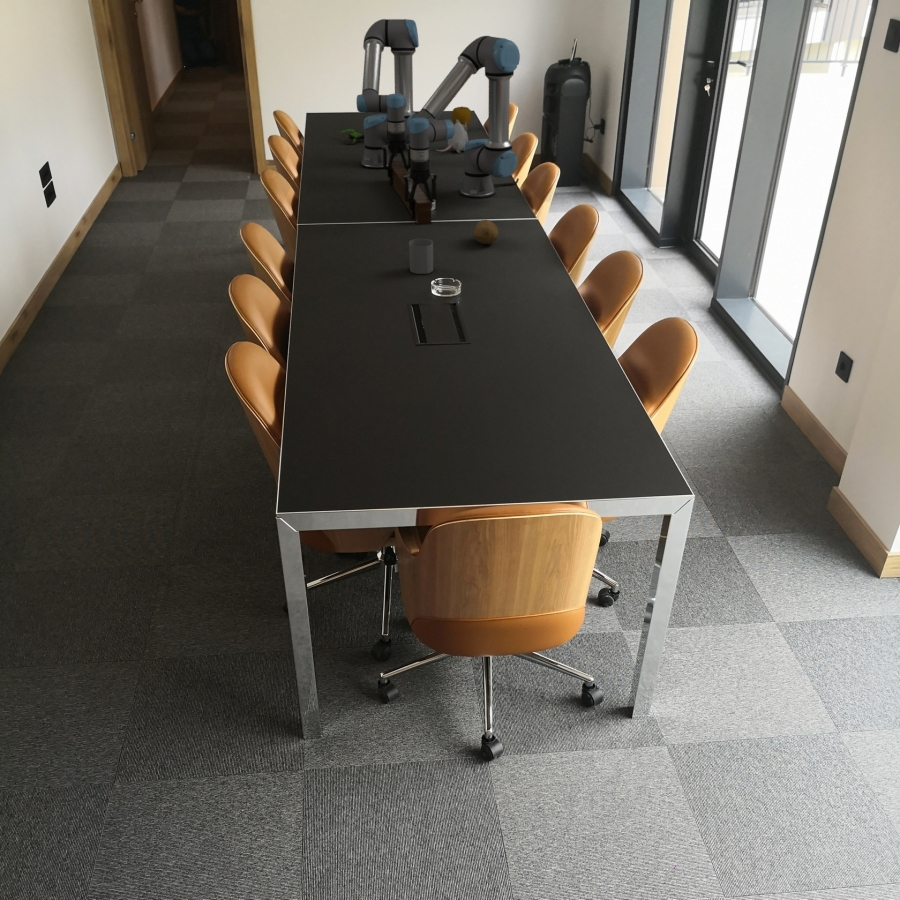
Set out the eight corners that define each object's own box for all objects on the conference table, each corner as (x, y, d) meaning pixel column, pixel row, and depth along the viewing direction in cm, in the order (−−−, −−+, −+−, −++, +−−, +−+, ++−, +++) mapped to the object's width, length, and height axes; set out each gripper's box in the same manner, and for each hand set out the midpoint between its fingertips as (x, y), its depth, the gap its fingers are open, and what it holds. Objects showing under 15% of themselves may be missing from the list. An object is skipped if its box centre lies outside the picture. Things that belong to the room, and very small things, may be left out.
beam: (389, 181, 404) (388, 162, 400) (400, 180, 405) (400, 161, 401) (417, 224, 351) (417, 203, 347) (431, 223, 352) (430, 202, 348)
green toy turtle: (394, 125, 469) (339, 123, 467) (394, 140, 462) (338, 138, 460) (394, 135, 474) (339, 133, 472) (394, 150, 467) (338, 148, 464)
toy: (473, 150, 452) (473, 120, 444) (442, 158, 438) (441, 127, 430) (460, 147, 458) (460, 117, 449) (429, 155, 443) (428, 125, 435)
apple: (471, 132, 486) (471, 108, 479) (451, 132, 486) (451, 108, 479) (470, 128, 495) (471, 104, 488) (452, 128, 495) (452, 104, 488)
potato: (495, 236, 338) (496, 216, 334) (500, 248, 327) (500, 227, 322) (471, 236, 338) (471, 216, 334) (474, 249, 326) (474, 228, 322)
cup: (409, 265, 311) (408, 238, 306) (432, 265, 312) (431, 238, 307) (410, 274, 304) (409, 246, 299) (433, 273, 305) (433, 246, 299)
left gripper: (377, 134, 381) (379, 187, 393) (418, 132, 385) (419, 184, 397) (374, 130, 387) (376, 183, 400) (415, 128, 391) (416, 180, 403)
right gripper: (398, 163, 340) (400, 221, 353) (444, 160, 344) (444, 218, 356) (395, 158, 346) (396, 216, 359) (440, 156, 350) (440, 212, 362)
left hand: (398, 183), depth 398 cm, fingers closed on beam, 5 cm apart
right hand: (420, 217), depth 357 cm, fingers closed on beam, 5 cm apart
